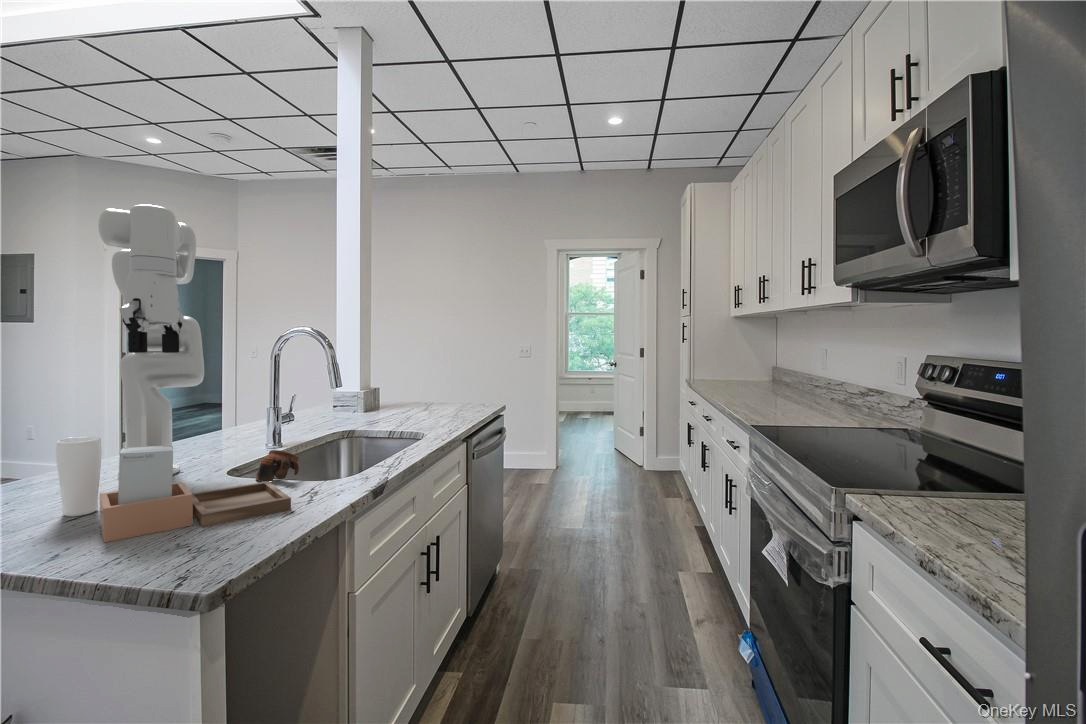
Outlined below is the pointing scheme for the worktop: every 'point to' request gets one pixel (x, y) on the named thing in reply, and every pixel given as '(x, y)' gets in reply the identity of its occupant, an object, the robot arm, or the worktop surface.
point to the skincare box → (145, 473)
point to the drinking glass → (79, 474)
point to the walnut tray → (238, 503)
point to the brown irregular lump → (281, 467)
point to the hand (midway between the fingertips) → (155, 352)
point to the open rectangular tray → (145, 514)
